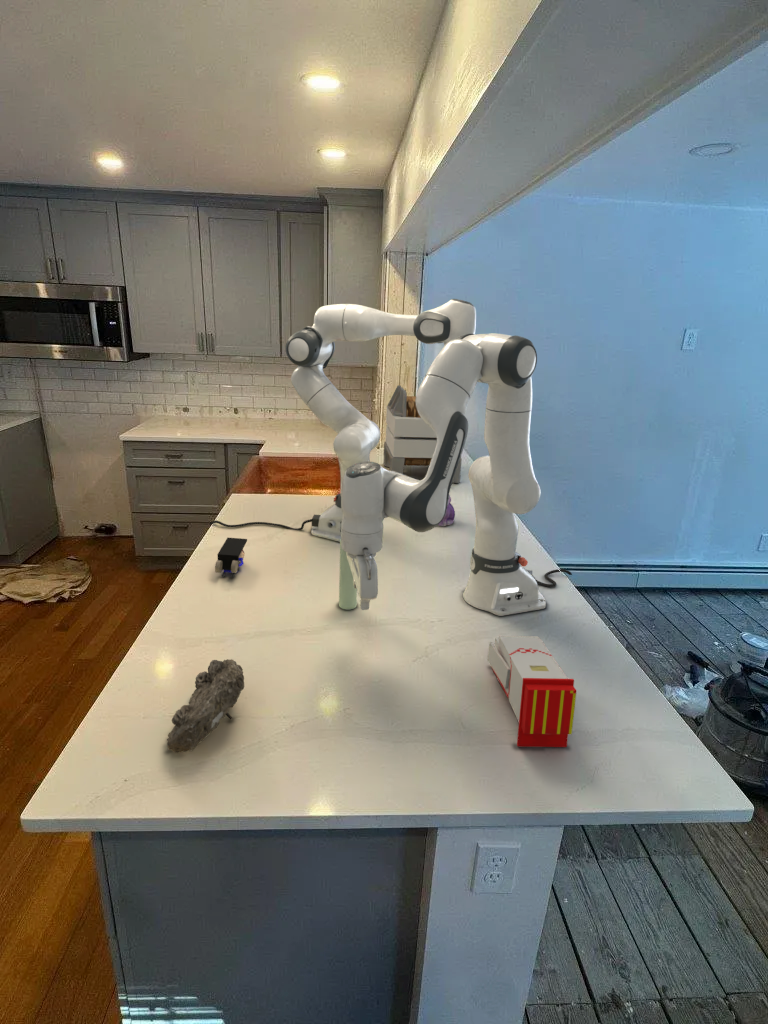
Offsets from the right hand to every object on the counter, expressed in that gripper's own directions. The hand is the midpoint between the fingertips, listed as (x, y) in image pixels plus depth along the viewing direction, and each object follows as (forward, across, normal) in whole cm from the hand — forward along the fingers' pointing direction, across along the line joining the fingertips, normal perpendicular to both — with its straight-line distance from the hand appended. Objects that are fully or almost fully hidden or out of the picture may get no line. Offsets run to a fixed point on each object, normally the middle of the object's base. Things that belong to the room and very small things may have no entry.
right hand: (360, 597), depth 124 cm
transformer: (+18, +147, -53) cm, 157 cm away
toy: (+15, -20, -31) cm, 40 cm away
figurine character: (+15, +48, +30) cm, 59 cm away
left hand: (-32, +59, -38) cm, 77 cm away
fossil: (+14, -16, +31) cm, 38 cm away
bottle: (+15, +23, 0) cm, 28 cm away
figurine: (+17, +81, -44) cm, 94 cm away
